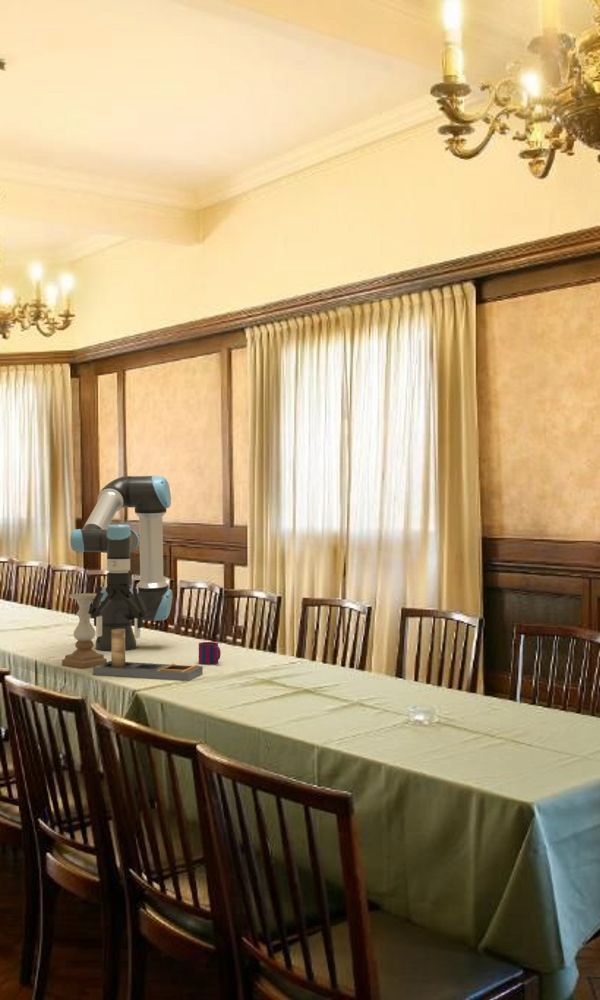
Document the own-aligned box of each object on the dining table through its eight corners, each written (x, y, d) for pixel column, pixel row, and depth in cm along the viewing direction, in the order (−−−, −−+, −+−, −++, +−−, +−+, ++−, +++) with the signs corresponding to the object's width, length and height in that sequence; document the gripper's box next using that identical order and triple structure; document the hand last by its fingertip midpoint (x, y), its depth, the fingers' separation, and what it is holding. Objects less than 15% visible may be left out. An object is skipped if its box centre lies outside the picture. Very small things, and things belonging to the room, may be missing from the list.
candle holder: (82, 668, 335) (82, 597, 335) (61, 665, 342) (61, 594, 342) (107, 664, 344) (107, 594, 344) (86, 661, 351) (86, 592, 350)
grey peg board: (109, 668, 336) (109, 660, 336) (202, 674, 327) (202, 665, 327) (92, 674, 324) (92, 666, 324) (188, 680, 315) (188, 671, 315)
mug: (212, 660, 352) (212, 641, 352) (226, 665, 344) (226, 645, 344) (195, 662, 349) (195, 642, 349) (208, 666, 340) (209, 646, 340)
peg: (115, 671, 331) (115, 628, 331) (127, 671, 330) (127, 629, 330) (109, 673, 327) (109, 630, 327) (121, 674, 326) (121, 630, 326)
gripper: (78, 571, 328) (77, 637, 328) (149, 573, 321) (148, 640, 321) (89, 570, 335) (88, 634, 335) (158, 572, 328) (158, 637, 328)
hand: (118, 637), depth 328 cm, fingers open, 13 cm apart
